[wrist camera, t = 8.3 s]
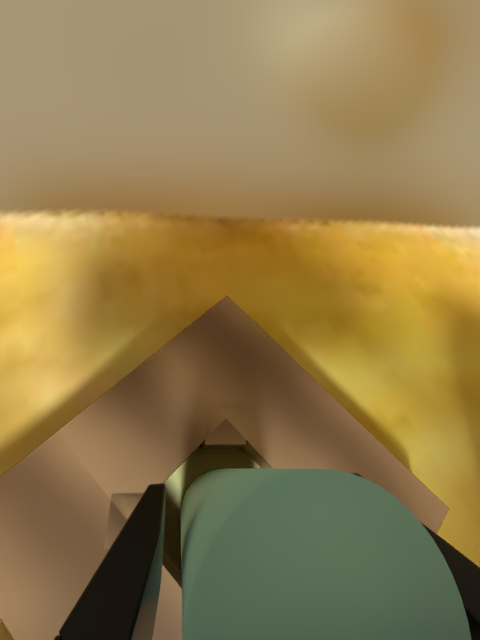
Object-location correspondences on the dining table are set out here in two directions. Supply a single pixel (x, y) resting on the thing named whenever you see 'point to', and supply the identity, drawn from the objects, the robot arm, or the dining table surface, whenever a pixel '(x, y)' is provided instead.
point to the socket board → (171, 461)
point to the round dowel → (310, 561)
